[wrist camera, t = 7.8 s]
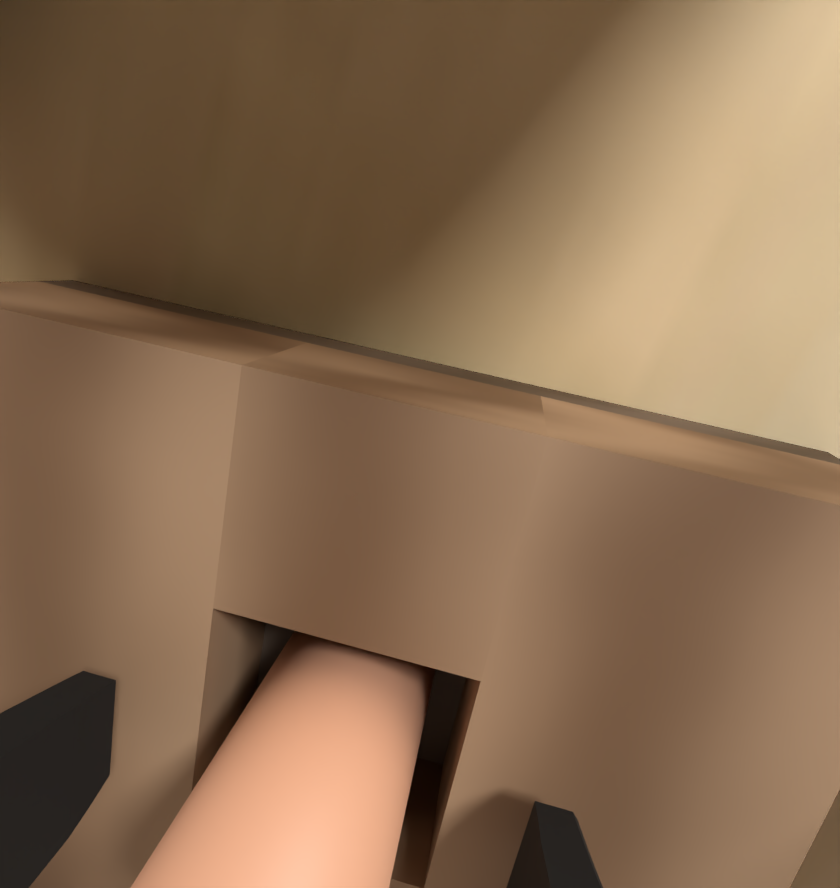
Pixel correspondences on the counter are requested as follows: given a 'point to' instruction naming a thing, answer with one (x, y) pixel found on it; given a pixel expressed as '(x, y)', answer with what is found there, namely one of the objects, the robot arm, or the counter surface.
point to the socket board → (418, 587)
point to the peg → (304, 778)
